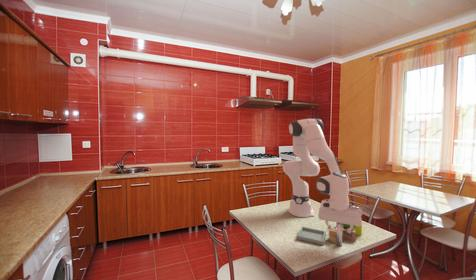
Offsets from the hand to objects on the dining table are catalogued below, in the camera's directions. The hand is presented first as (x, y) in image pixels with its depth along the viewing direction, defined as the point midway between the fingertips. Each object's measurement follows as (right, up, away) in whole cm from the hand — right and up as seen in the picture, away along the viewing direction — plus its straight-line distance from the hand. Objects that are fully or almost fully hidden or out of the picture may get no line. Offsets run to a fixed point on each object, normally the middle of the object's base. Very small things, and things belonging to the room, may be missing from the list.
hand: (338, 230), depth 109 cm
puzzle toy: (+15, -8, +18) cm, 25 cm away
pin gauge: (0, -8, +1) cm, 8 cm away
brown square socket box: (+10, -8, +9) cm, 15 cm away
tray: (-11, -8, +9) cm, 16 cm away
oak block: (0, -8, +6) cm, 10 cm away
